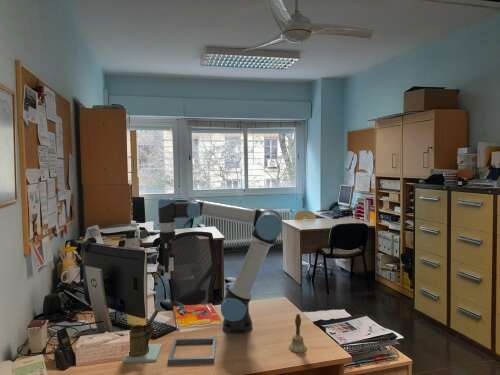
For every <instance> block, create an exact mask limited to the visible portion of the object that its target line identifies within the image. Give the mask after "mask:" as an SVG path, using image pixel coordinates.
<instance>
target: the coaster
mask: <svg viewBox="0 0 500 375" xmlns="http://www.w3.org/2000/svg"><path fill="white" fill-rule="evenodd" d="M148 346H149V351H148V352H147V353H146V354H145V355H142V356H139V357H131V356H126V355H125V356H124V357H123V360H122V362H123V363H147V362H154V363H155V362H158V359H159V355H160V353H161V350H162V348H163V343H148Z"/></svg>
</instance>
